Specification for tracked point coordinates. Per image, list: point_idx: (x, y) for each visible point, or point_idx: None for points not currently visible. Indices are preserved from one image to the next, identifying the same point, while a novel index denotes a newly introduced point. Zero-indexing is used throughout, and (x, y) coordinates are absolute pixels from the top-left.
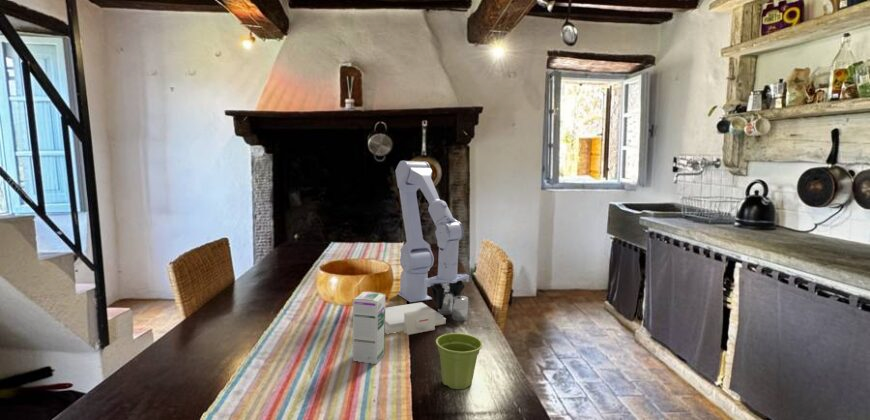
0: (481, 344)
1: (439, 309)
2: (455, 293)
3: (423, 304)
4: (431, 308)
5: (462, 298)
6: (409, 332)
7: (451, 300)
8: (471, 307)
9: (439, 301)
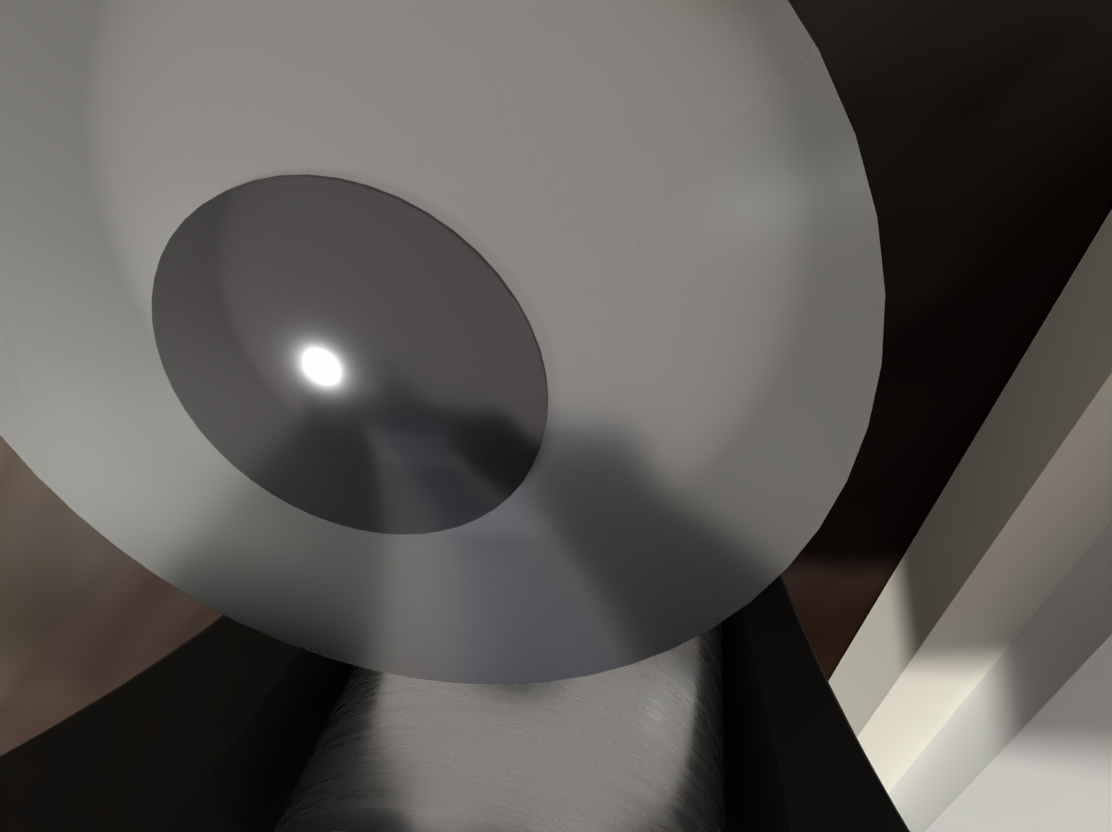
0: None
1: None
2: (242, 778)
3: (976, 822)
4: (1104, 651)
5: (302, 225)
6: None
7: None
8: None
9: (858, 741)
